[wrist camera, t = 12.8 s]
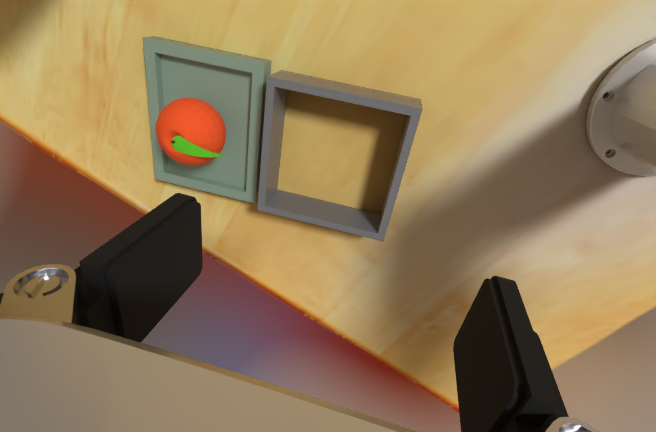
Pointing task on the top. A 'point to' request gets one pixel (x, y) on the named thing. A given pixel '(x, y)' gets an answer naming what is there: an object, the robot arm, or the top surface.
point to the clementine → (191, 131)
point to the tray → (226, 97)
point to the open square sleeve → (315, 208)
